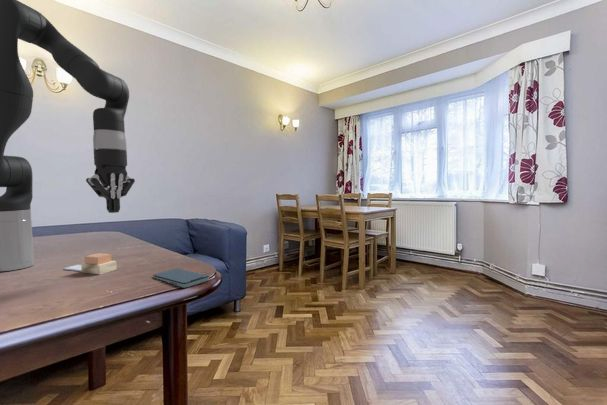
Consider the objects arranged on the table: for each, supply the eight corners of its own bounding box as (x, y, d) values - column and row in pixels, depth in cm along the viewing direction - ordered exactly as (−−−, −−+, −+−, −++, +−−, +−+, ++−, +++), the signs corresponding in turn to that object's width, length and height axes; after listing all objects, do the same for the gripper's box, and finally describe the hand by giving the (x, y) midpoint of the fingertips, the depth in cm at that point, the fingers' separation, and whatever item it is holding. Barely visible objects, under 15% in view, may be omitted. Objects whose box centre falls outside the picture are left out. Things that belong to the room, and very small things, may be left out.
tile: (85, 263, 82) (84, 256, 82) (98, 259, 86) (98, 253, 86) (98, 264, 81) (97, 257, 81) (111, 261, 85) (111, 254, 85)
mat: (63, 269, 85) (63, 268, 85) (78, 265, 89) (78, 264, 89) (83, 271, 83) (83, 270, 83) (97, 267, 87) (97, 266, 87)
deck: (81, 272, 82) (81, 263, 82) (99, 267, 87) (98, 259, 87) (100, 274, 80) (99, 265, 80) (116, 269, 85) (116, 260, 85)
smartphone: (178, 267, 83) (210, 275, 75) (178, 273, 83) (211, 281, 75) (151, 274, 77) (183, 283, 68) (151, 280, 77) (184, 290, 69)
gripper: (121, 151, 87) (124, 210, 88) (75, 146, 74) (78, 214, 75) (141, 150, 85) (144, 210, 86) (96, 145, 72) (100, 215, 73)
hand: (113, 212), depth 81 cm, fingers closed
